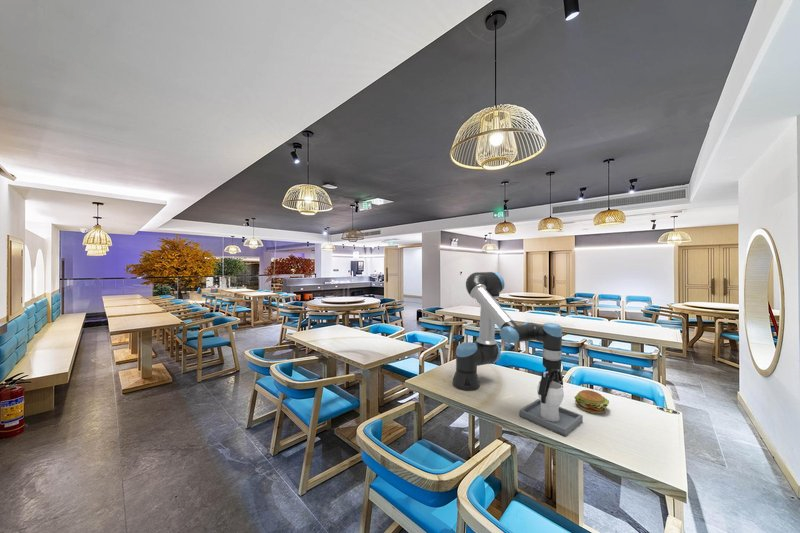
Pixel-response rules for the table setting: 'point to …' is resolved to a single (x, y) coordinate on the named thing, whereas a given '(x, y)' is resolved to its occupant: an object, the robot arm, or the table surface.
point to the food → (591, 401)
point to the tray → (561, 427)
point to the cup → (552, 401)
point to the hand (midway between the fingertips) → (550, 405)
